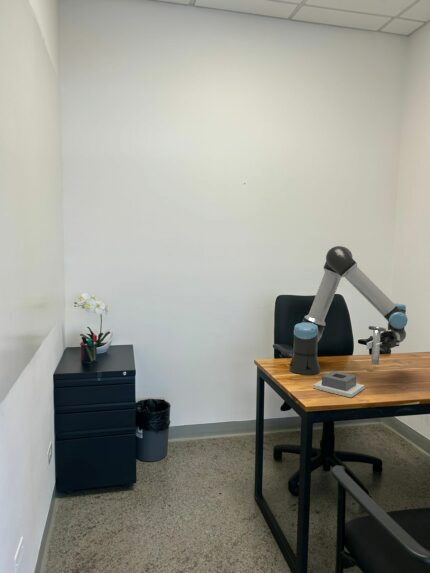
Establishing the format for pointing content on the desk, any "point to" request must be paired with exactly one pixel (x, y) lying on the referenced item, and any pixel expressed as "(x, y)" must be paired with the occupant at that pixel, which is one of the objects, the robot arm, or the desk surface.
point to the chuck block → (339, 384)
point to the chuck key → (376, 340)
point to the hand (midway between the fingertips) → (371, 346)
